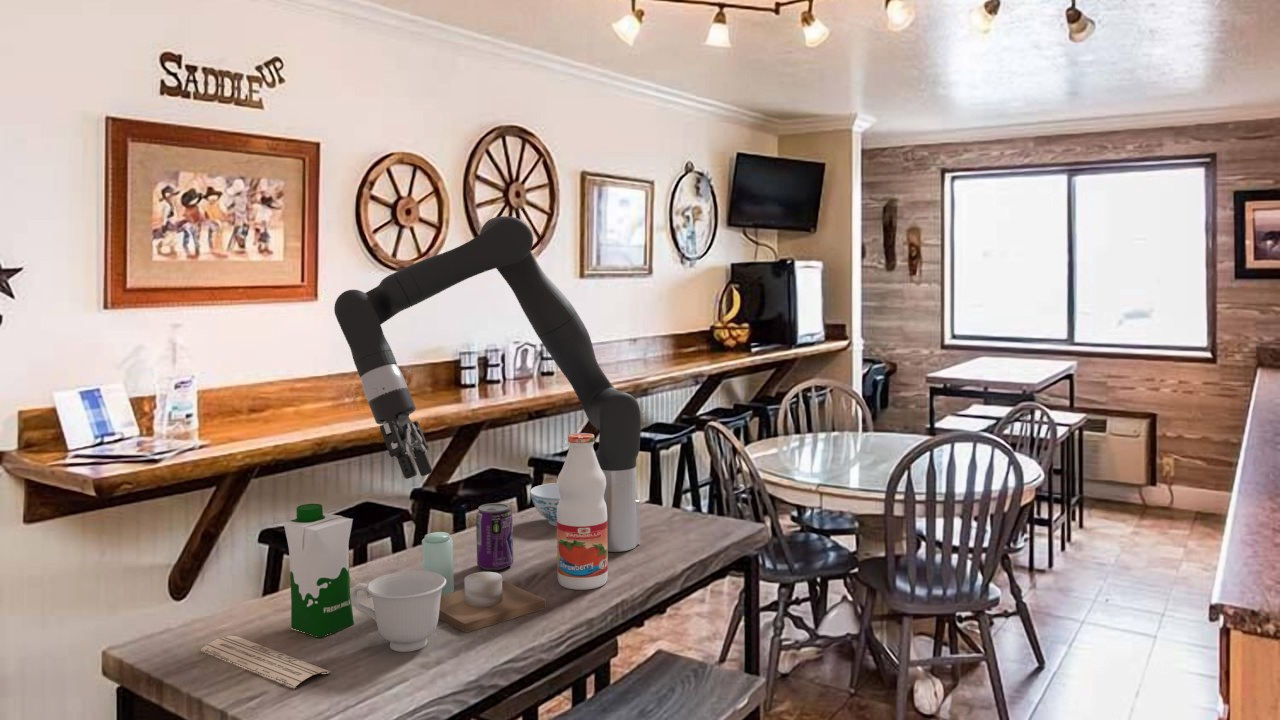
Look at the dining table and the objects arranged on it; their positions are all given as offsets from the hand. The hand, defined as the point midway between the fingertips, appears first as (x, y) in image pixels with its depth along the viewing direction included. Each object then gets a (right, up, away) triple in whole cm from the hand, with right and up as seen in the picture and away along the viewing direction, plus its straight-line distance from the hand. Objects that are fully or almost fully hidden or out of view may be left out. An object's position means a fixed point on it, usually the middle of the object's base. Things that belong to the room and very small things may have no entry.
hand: (419, 475), depth 167 cm
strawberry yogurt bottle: (+29, -21, +5) cm, 36 cm away
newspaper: (-16, -25, -29) cm, 41 cm away
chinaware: (+22, -17, +46) cm, 54 cm away
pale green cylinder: (+4, -21, 0) cm, 22 cm away
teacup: (+2, -24, -23) cm, 33 cm away
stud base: (+13, -22, -8) cm, 27 cm away
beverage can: (+11, -20, +15) cm, 27 cm away
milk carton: (-12, -23, -16) cm, 31 cm away
